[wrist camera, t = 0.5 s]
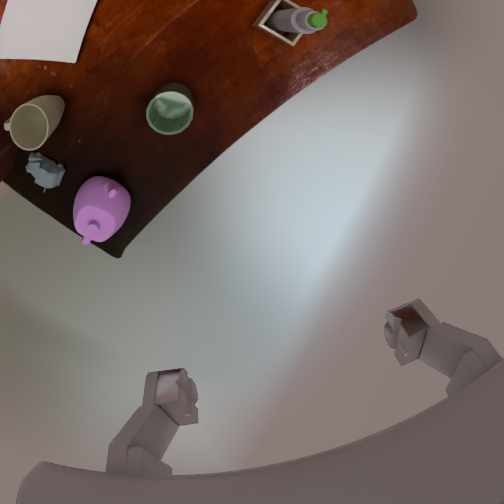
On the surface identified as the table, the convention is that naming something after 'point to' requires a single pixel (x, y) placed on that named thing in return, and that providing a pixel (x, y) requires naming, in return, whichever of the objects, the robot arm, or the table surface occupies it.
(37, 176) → the toy car
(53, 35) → the plate
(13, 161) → the red grey decanter
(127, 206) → the teapot
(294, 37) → the ivory holder
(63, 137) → the table surface
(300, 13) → the bottle
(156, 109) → the green cup
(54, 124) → the mug
